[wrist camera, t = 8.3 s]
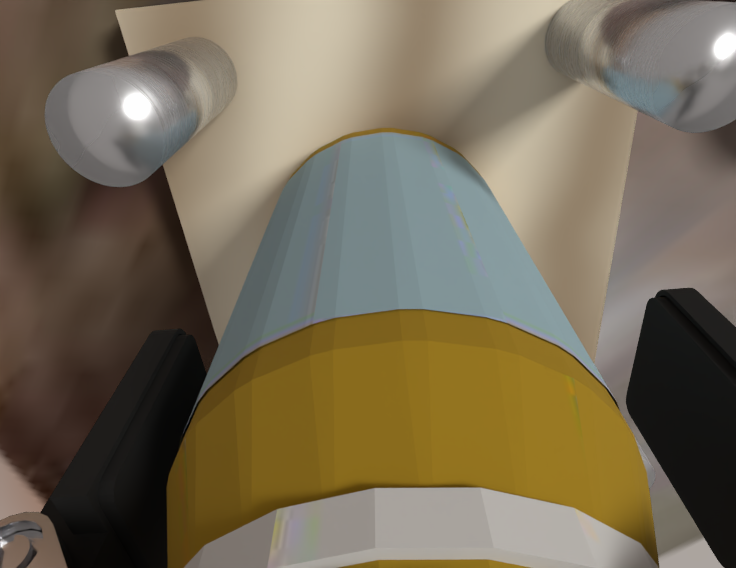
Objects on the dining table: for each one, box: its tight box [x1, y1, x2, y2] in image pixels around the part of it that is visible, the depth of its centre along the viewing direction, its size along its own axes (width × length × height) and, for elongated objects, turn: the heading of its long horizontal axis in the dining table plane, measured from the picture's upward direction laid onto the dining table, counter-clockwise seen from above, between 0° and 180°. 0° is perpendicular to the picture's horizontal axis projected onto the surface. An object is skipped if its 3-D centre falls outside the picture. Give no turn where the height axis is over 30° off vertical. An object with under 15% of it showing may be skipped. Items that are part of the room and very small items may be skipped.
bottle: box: [167, 128, 659, 568], centre depth 10 cm, size 7×7×15 cm
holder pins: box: [45, 0, 736, 489], centre depth 14 cm, size 12×12×6 cm
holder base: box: [115, 0, 637, 363], centre depth 17 cm, size 14×14×1 cm
